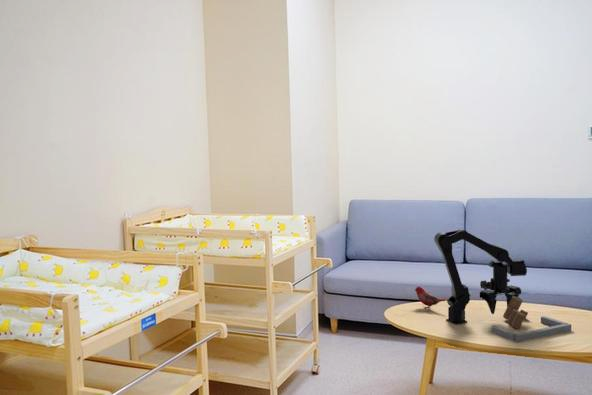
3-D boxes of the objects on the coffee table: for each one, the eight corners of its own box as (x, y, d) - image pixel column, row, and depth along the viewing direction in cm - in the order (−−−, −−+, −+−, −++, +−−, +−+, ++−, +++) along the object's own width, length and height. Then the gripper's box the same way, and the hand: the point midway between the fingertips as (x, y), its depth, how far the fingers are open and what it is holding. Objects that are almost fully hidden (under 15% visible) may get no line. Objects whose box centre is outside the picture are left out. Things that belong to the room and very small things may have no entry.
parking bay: (517, 342, 196) (517, 336, 195) (491, 332, 207) (491, 326, 207) (571, 330, 207) (571, 324, 207) (544, 321, 219) (544, 316, 219)
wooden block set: (521, 335, 210) (532, 313, 207) (500, 325, 213) (511, 303, 210) (523, 320, 226) (533, 300, 223) (503, 311, 229) (513, 291, 226)
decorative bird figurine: (416, 305, 250) (416, 285, 249) (449, 312, 237) (449, 290, 236) (413, 306, 248) (412, 286, 247) (446, 313, 235) (445, 292, 234)
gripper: (501, 270, 232) (502, 304, 234) (469, 275, 225) (470, 310, 226) (521, 275, 222) (522, 310, 223) (489, 280, 215) (489, 317, 216)
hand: (500, 312), depth 222 cm, fingers open, 9 cm apart
